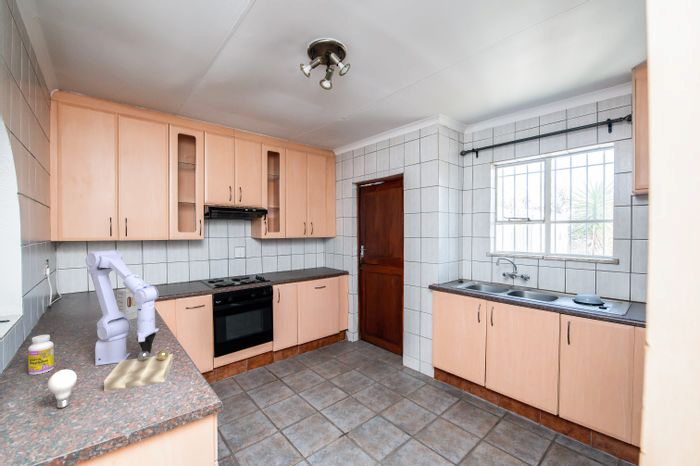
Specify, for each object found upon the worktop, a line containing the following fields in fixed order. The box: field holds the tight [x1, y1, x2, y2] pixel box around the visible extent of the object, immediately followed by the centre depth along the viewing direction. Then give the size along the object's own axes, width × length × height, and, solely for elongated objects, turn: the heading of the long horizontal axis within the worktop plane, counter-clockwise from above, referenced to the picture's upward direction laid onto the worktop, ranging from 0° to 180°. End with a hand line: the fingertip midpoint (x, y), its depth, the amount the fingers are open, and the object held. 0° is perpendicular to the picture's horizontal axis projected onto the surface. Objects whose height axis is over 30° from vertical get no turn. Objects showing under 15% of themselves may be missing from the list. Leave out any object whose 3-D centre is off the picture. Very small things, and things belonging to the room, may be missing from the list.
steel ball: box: [137, 350, 150, 361], centre depth 115 cm, size 4×4×4 cm
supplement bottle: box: [27, 334, 55, 376], centre depth 113 cm, size 7×7×13 cm
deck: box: [103, 353, 174, 392], centre depth 110 cm, size 17×16×4 cm
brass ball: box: [156, 349, 169, 360], centre depth 115 cm, size 4×4×4 cm
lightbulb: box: [47, 368, 78, 409], centre depth 91 cm, size 6×6×11 cm
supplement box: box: [116, 287, 137, 321], centre depth 178 cm, size 10×9×17 cm
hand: (146, 353), depth 118 cm, fingers closed
